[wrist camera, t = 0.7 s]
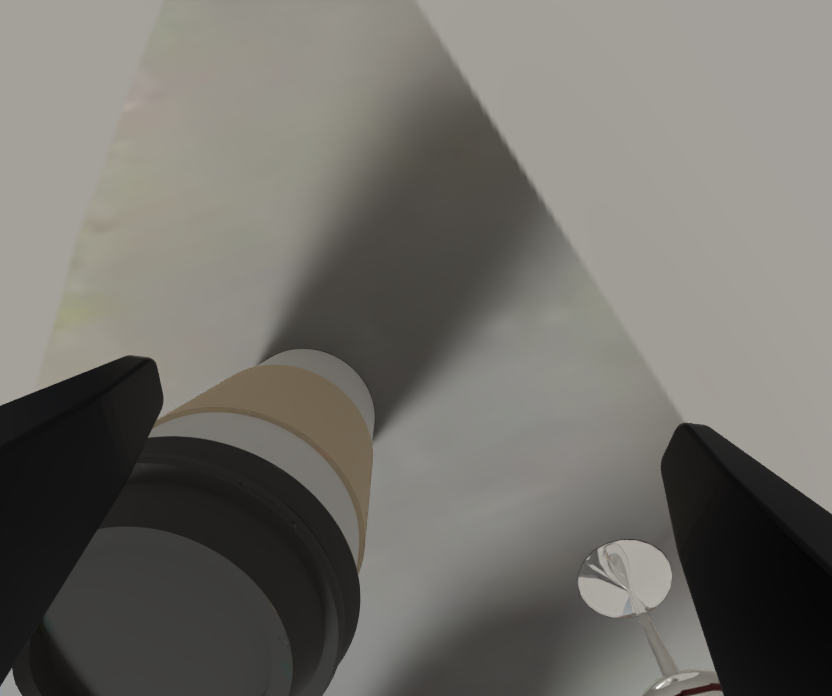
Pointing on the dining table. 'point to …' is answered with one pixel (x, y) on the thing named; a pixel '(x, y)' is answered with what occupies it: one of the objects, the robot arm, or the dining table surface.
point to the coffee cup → (224, 547)
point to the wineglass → (641, 607)
